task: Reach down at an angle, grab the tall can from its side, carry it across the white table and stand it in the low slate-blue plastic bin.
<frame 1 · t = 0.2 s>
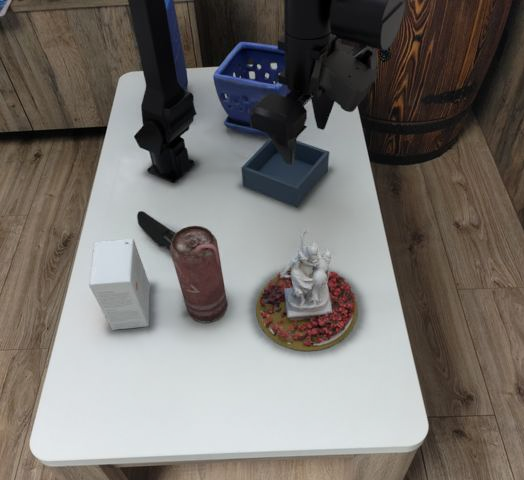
hand: (305, 145, 72), 15 cm above the table, tool pointing down, fingers open, 9 cm apart
small box: (132, 308, 76), on the table
figurine: (306, 309, 74), on the table
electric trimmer: (172, 248, 82), on the table
bin: (285, 178, 90), on the table
flower pot: (261, 123, 100), on the table
book: (175, 106, 104), on the table
can: (208, 308, 75), on the table
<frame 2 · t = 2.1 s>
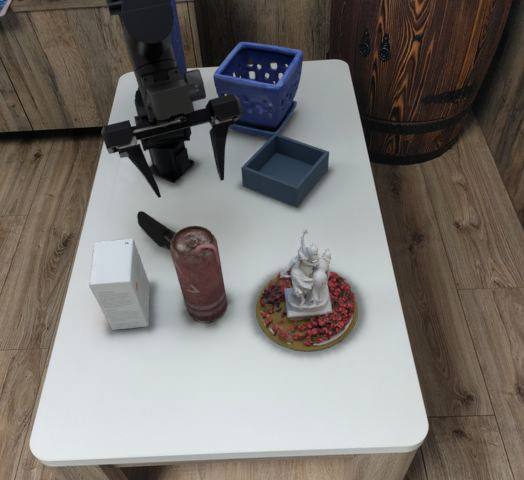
hand: (191, 188, 70), 13 cm above the table, tool tilted 40°, fingers open, 9 cm apart
book: (175, 106, 104), on the table, touching arm
everything else where it was.
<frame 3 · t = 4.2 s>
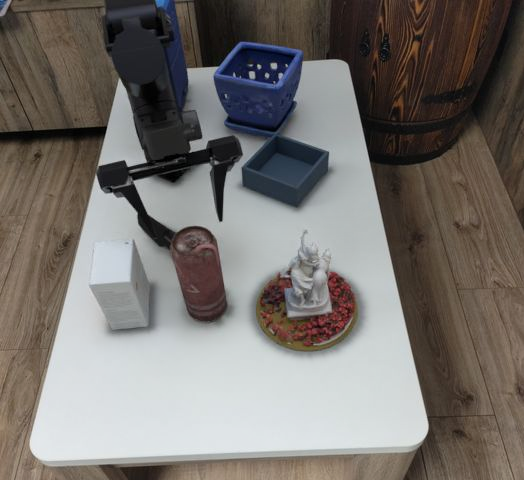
hand: (188, 230, 68), 12 cm above the table, tool tilted 45°, fingers open, 9 cm apart
book: (175, 106, 104), on the table
everything else where it was.
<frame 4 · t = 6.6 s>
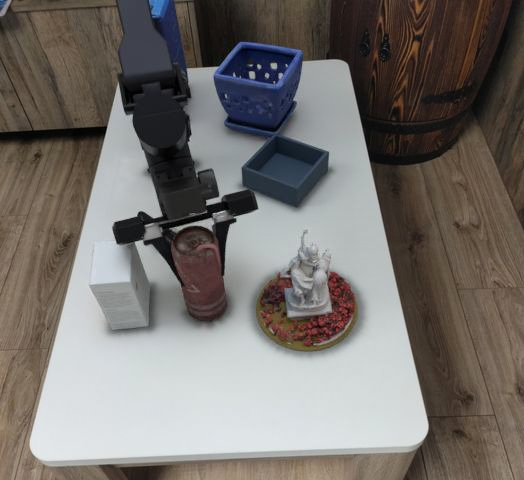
hand: (203, 281, 68), 8 cm above the table, tool tilted 45°, fingers closed on can, 5 cm apart
can: (208, 308, 75), on the table, touching gripper
everything else where it was.
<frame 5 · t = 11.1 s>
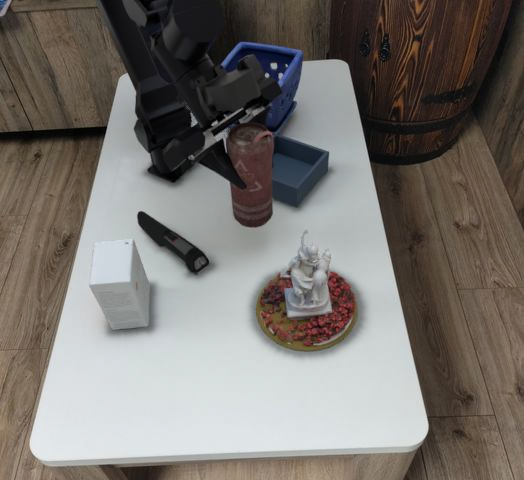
hand: (258, 178, 70), 13 cm above the table, tool tilted 45°, fingers closed on can, 5 cm apart
can: (254, 215, 77), point 6 cm above the table, touching gripper
everything else where it was.
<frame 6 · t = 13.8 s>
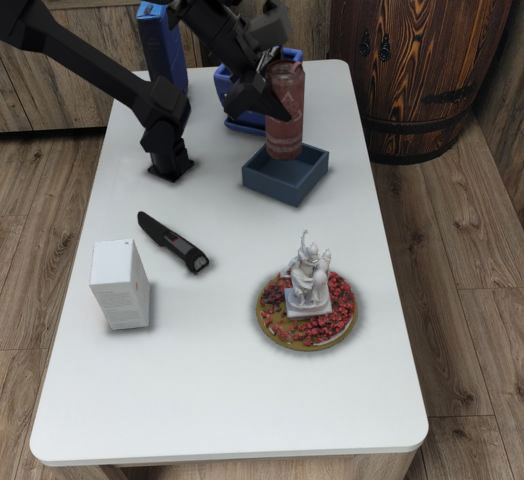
hand: (293, 110, 79), 13 cm above the table, tool tilted 45°, fingers closed on can, 5 cm apart
can: (284, 151, 85), point 6 cm above the table, touching gripper
everything else where it was.
when the fingers open (8 cm above the table, at t = 15.8 s): can stays where it is, resting on bin.
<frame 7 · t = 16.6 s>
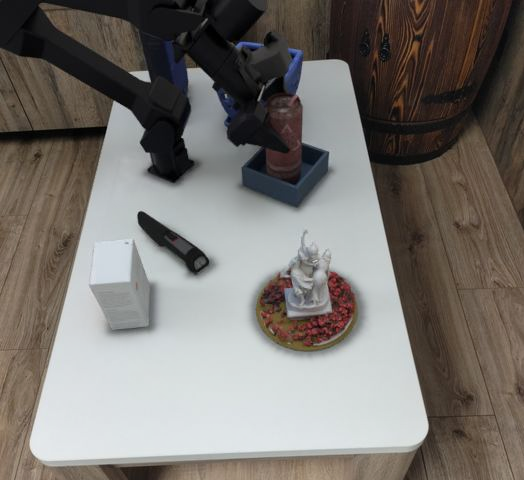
hand: (293, 134, 82), 9 cm above the table, tool tilted 45°, fingers open, 9 cm apart
can: (284, 176, 90), resting on bin
everything else where it was.
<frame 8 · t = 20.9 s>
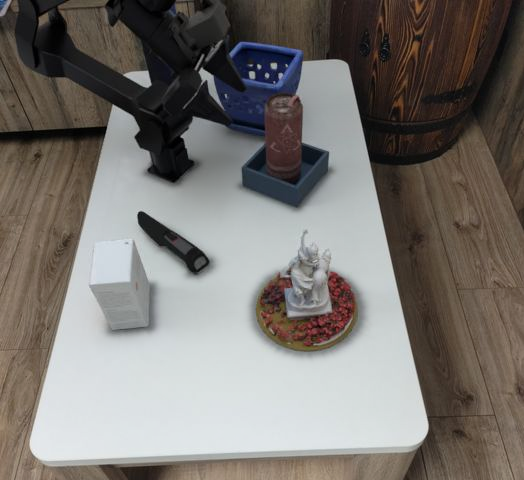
hand: (238, 107, 79), 14 cm above the table, tool tilted 45°, fingers open, 9 cm apart
nothing on the table moved.
at the end: can inside the target area in the bin (0.2 cm from its centre), point 0.3 cm above the bin's base; can tilted 0°; the gripper is holding nothing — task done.
